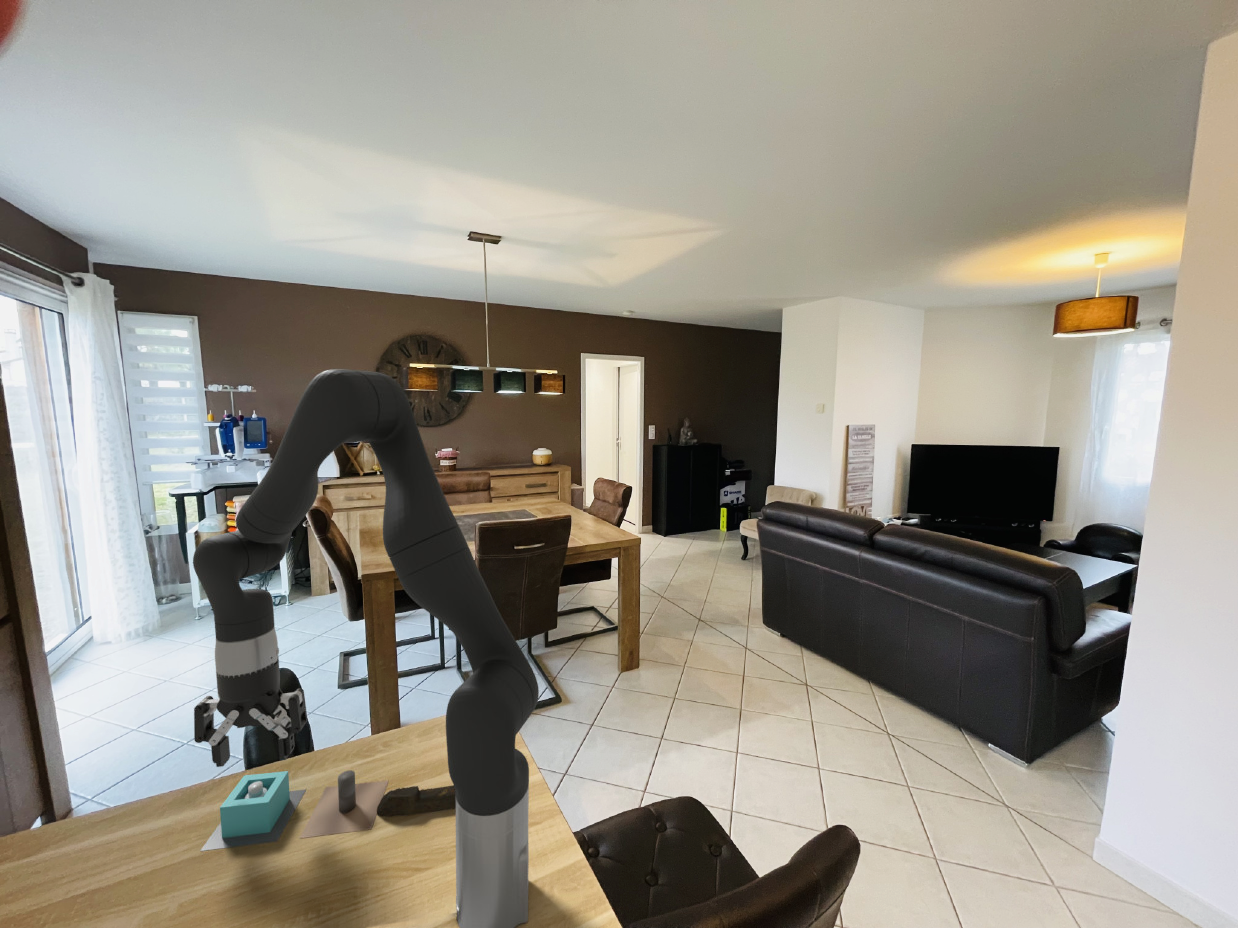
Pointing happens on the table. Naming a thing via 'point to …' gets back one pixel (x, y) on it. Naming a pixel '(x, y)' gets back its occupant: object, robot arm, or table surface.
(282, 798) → the collar
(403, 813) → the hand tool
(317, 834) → the rod stand
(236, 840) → the grey peg base
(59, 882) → the table surface
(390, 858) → the table surface
